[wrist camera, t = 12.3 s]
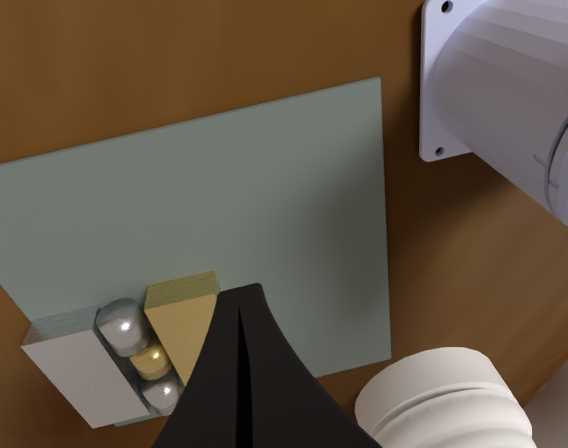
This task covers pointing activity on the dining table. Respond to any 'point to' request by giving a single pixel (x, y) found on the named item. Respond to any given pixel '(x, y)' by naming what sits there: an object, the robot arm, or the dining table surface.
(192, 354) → the tan knobbed block
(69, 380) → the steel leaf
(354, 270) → the mat
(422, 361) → the honey pot
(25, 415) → the dining table surface
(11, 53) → the dining table surface
